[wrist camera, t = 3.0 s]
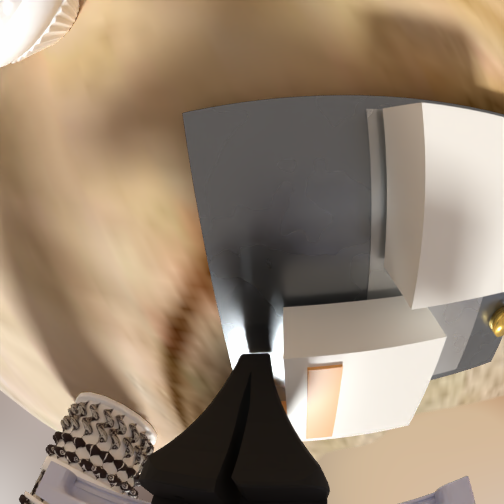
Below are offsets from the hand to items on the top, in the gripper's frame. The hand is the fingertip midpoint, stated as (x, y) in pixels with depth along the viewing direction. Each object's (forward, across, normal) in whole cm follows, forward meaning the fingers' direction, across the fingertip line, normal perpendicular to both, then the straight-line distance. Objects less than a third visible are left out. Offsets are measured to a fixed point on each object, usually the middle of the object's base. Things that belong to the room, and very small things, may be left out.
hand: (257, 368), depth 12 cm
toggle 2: (+1, -8, -8) cm, 11 cm away
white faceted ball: (+2, +8, -19) cm, 21 cm away
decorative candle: (+2, +14, +11) cm, 18 cm away
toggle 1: (+1, -4, 0) cm, 4 cm away
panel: (+2, -7, -4) cm, 8 cm away
